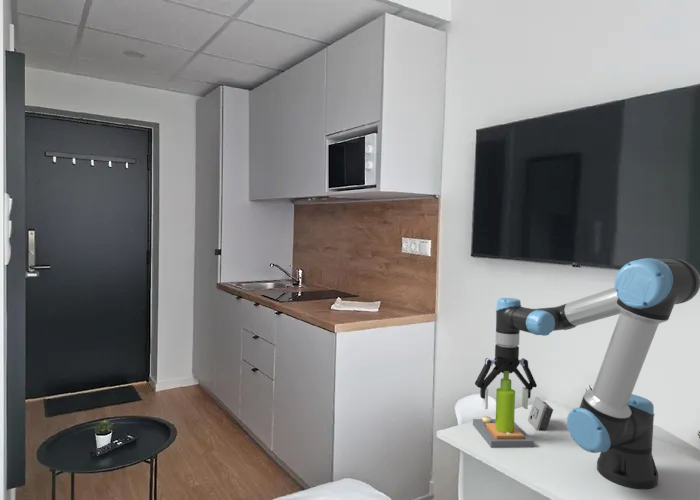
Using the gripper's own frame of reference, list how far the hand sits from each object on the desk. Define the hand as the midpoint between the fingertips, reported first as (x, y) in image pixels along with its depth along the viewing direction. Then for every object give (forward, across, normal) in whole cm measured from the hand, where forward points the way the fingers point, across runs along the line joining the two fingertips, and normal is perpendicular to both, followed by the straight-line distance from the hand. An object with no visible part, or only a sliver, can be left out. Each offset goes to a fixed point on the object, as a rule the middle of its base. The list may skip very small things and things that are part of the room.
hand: (504, 407), depth 159 cm
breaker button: (+10, 0, 0) cm, 10 cm away
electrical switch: (+10, -17, -10) cm, 22 cm away
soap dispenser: (+7, -1, 0) cm, 7 cm away
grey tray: (+10, 0, -2) cm, 10 cm away
